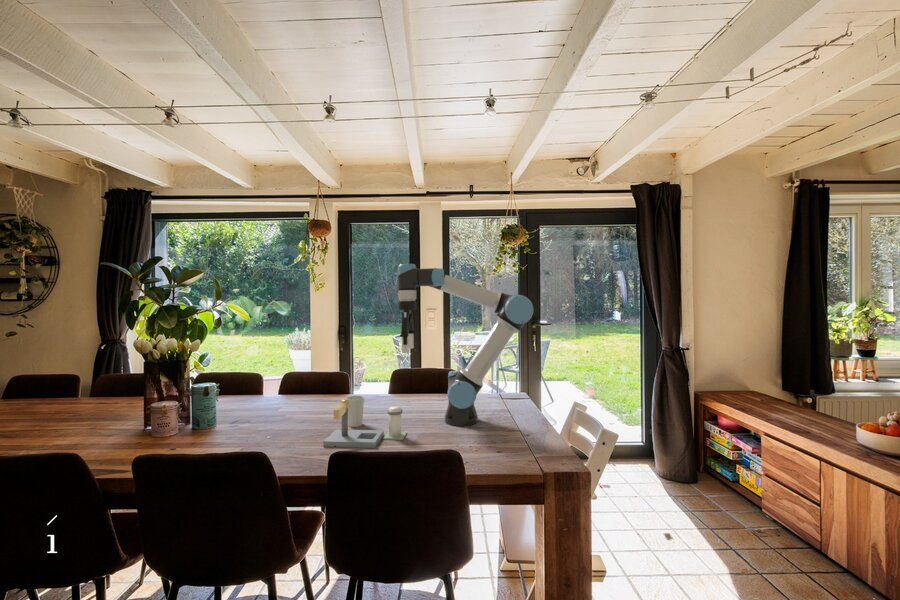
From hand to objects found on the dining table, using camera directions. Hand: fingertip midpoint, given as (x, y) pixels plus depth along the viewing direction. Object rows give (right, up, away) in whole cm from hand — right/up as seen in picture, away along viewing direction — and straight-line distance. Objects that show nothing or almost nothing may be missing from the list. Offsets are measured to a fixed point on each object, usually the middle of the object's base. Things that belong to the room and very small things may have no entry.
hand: (408, 350), depth 173 cm
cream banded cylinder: (-5, -34, -7) cm, 35 cm away
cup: (-25, -34, +9) cm, 43 cm away
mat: (-5, -34, -7) cm, 35 cm away
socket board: (-20, -34, -12) cm, 41 cm away
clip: (-24, -22, -17) cm, 37 cm away
